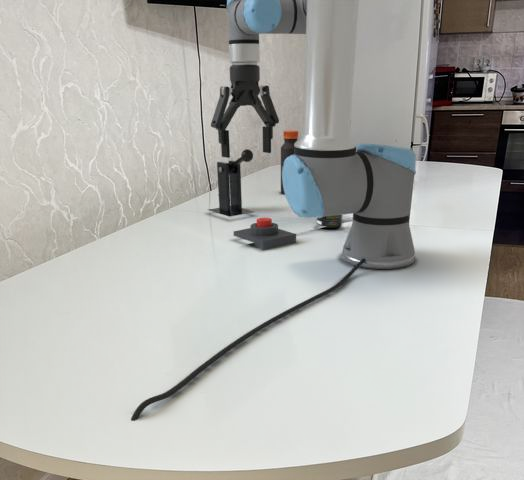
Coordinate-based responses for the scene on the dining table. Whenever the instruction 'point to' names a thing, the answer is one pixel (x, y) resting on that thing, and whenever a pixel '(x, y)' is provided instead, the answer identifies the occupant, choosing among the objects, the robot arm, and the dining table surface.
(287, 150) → the bottle
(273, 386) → the dining table surface
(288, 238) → the dark grey base plate
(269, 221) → the button
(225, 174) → the lever switch
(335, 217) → the supplement container
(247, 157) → the switch lever
